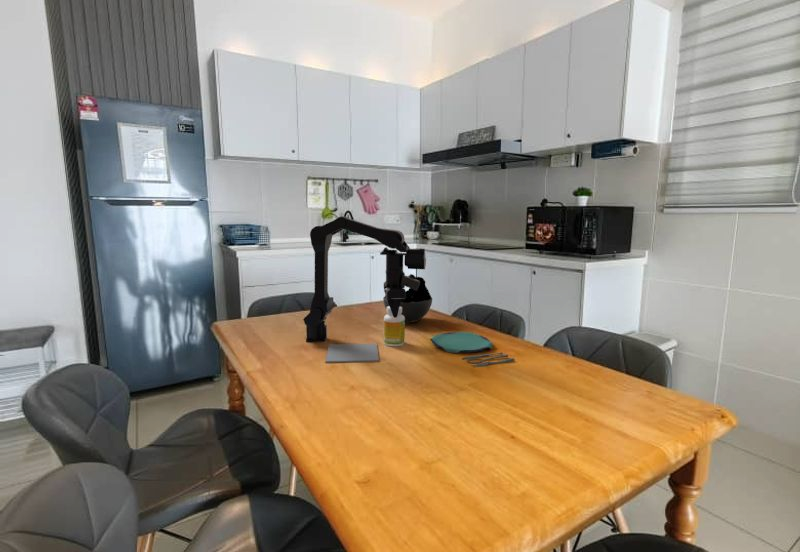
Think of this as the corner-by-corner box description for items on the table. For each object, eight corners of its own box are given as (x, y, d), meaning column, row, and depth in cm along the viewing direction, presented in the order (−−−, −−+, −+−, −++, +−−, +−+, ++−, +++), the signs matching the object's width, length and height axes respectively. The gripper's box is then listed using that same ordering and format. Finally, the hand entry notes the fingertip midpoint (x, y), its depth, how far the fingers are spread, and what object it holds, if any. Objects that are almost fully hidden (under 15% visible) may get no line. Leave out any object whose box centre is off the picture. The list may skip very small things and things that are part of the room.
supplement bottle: (404, 347, 141) (404, 309, 140) (383, 346, 142) (383, 309, 140) (404, 340, 149) (405, 304, 147) (384, 340, 149) (384, 304, 147)
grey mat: (325, 362, 126) (325, 361, 126) (328, 345, 142) (328, 344, 142) (379, 361, 128) (379, 359, 128) (376, 344, 143) (376, 343, 143)
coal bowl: (437, 326, 167) (439, 279, 164) (387, 329, 163) (388, 281, 160) (424, 314, 186) (425, 272, 183) (379, 316, 182) (379, 273, 179)
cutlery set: (472, 334, 157) (472, 328, 156) (521, 363, 129) (521, 356, 129) (422, 340, 150) (422, 334, 150) (463, 372, 122) (463, 364, 122)
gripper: (422, 272, 133) (421, 320, 135) (414, 264, 151) (414, 307, 153) (387, 272, 132) (386, 321, 134) (383, 264, 150) (383, 307, 152)
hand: (394, 314), depth 144 cm, fingers open, 9 cm apart
